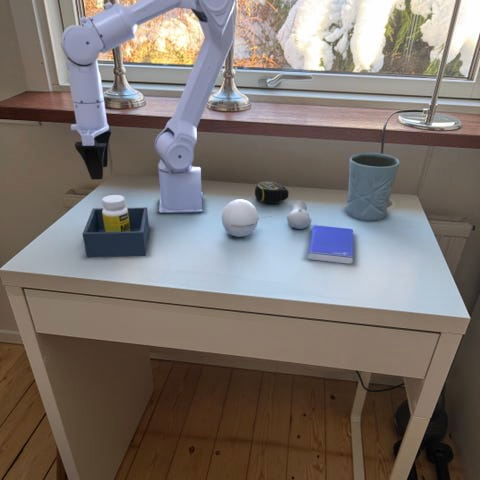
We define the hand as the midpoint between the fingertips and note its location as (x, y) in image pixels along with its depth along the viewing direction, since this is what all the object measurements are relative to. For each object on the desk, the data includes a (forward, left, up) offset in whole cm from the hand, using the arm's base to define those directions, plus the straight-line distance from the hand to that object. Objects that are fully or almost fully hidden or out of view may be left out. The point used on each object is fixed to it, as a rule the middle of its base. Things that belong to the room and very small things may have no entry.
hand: (99, 172), depth 96 cm
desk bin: (-4, +13, -9) cm, 17 cm away
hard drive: (-45, +18, -10) cm, 50 cm away
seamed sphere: (-29, +12, -10) cm, 33 cm away
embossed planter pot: (-57, +2, -10) cm, 58 cm away
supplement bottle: (-4, +13, -9) cm, 17 cm away
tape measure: (-37, -7, -10) cm, 39 cm away
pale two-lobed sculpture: (-41, +7, -10) cm, 43 cm away
